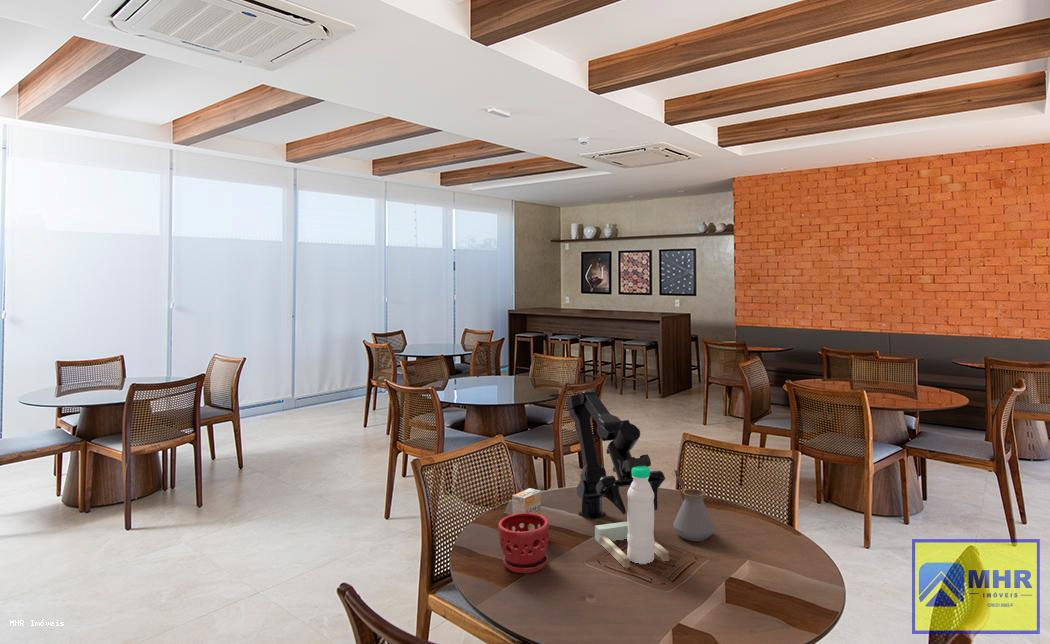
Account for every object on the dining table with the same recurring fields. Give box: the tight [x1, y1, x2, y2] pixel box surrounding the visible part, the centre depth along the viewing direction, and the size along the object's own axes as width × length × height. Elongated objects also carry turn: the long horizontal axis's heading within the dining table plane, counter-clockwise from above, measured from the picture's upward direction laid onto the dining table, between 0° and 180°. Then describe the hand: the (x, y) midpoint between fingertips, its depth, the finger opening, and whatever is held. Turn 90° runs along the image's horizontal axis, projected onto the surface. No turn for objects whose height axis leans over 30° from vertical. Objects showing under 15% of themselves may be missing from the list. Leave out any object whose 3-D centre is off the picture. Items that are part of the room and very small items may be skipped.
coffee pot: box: [671, 469, 715, 542], centre depth 179 cm, size 21×12×15 cm, turn 6°
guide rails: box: [598, 534, 670, 568], centre depth 164 cm, size 16×13×2 cm
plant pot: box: [498, 513, 550, 574], centre depth 156 cm, size 13×13×12 cm
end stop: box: [594, 521, 628, 544], centre depth 173 cm, size 3×13×4 cm, turn 107°
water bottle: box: [626, 466, 655, 565], centre depth 159 cm, size 7×7×25 cm
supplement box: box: [511, 487, 542, 532], centre depth 175 cm, size 8×5×13 cm, turn 143°
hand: (640, 511), depth 159 cm, fingers open, 9 cm apart
